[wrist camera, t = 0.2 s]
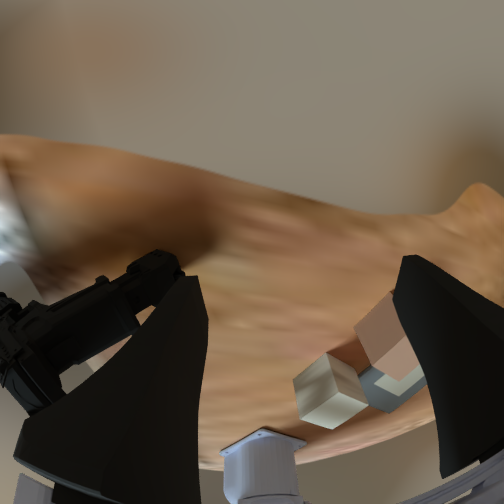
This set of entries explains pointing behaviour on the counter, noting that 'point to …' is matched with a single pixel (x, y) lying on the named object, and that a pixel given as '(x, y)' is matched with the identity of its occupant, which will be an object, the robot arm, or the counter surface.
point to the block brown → (386, 340)
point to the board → (390, 388)
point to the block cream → (328, 392)
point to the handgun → (76, 328)
